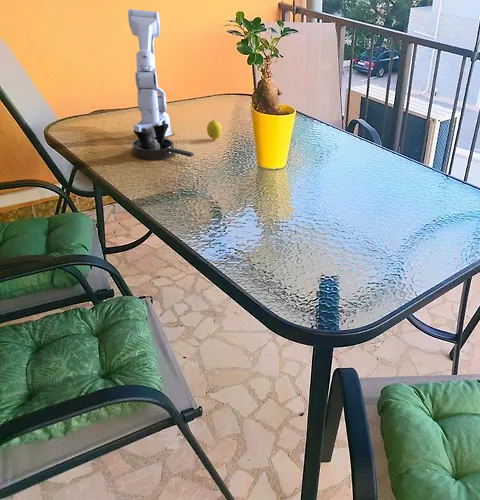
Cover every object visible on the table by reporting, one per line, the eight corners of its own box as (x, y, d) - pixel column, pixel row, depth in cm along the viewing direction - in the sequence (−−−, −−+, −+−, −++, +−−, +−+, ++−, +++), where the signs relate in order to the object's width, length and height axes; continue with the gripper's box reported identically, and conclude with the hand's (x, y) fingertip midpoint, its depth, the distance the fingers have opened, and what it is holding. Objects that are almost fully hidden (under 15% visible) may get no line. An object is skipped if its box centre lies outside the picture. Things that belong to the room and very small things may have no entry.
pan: (150, 143, 174) (149, 134, 172) (181, 151, 171) (181, 142, 169) (124, 154, 163) (123, 144, 161) (157, 163, 160) (156, 153, 158)
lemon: (223, 138, 188) (223, 119, 184) (218, 143, 183) (218, 123, 179) (210, 136, 188) (209, 117, 184) (205, 140, 183) (204, 120, 179)
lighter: (160, 155, 165) (158, 133, 161) (155, 156, 164) (153, 134, 160) (152, 149, 169) (149, 127, 165) (147, 149, 168) (145, 128, 164)
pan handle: (171, 149, 165) (171, 147, 164) (193, 155, 163) (193, 152, 163) (168, 151, 163) (168, 148, 163) (190, 157, 162) (190, 154, 161)
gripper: (145, 115, 152) (149, 154, 159) (172, 106, 164) (175, 143, 171) (126, 110, 153) (131, 150, 160) (155, 102, 165) (159, 139, 172)
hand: (153, 146), depth 166 cm, fingers open, 7 cm apart
